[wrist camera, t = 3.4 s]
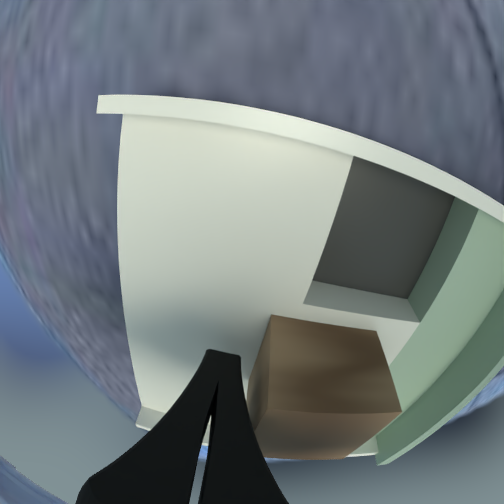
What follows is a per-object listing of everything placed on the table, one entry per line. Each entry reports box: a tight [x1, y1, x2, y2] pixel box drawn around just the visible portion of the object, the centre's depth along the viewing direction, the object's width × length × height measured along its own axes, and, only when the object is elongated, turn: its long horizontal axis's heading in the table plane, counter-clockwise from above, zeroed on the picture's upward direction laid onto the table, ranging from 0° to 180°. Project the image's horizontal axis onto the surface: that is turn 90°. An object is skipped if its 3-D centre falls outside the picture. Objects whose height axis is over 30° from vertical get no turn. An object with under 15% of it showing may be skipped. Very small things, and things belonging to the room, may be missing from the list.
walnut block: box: [246, 314, 402, 460], centre depth 9 cm, size 4×4×4 cm
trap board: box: [97, 95, 504, 465], centre depth 11 cm, size 18×18×4 cm
